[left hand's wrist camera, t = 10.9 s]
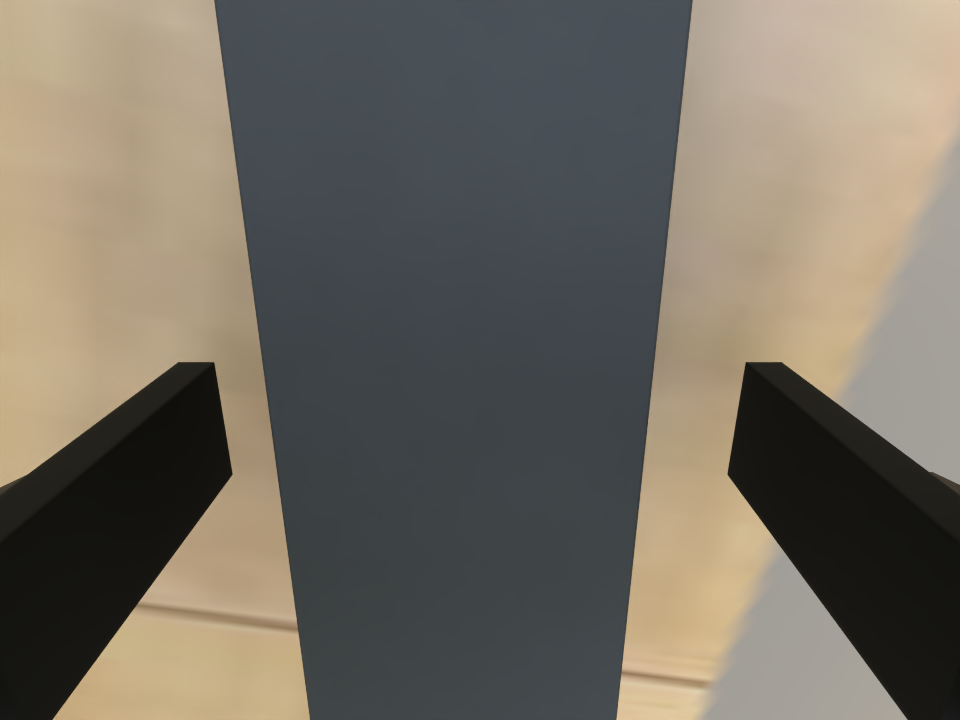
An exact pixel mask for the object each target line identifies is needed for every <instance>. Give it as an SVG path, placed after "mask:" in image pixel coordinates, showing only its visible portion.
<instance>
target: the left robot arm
mask: <svg viewBox="0 0 960 720" xmlns="http://www.w3.org/2000/svg"><path fill="white" fill-rule="evenodd" d="M232 475H233V474H232V468H231V462H230V456H229V450H228V444H227V438H226V431H225V425H224V419H223V413H222V407H221V401H220V395H219V388H218V382H217V376H216V370H215V364H214V362H178V363H177V364H176V365H174V366H173V367H172V368H170V369H169V370H167V371H166V372H165V373H163V374H162V375H161V376H159V377H158V378H157V379H155V380H154V381H153V382H151V383H150V384H149V385H147V386H146V387H145V388H143V389H142V390H141V391H139V392H138V393H137V394H135V395H134V396H133V397H131V398H130V399H129V400H127V401H126V402H125V403H123V404H122V405H120V406H119V407H118V408H116V409H115V410H114V411H112V412H111V413H110V414H108V415H107V416H106V417H104V418H103V419H102V420H100V421H99V422H98V423H96V424H95V425H94V426H92V427H91V428H90V429H88V430H87V431H86V432H84V433H83V434H82V435H80V436H79V437H78V438H76V439H75V440H73V441H72V442H71V443H69V444H68V445H67V446H65V447H64V448H63V449H61V450H60V451H59V452H57V453H56V454H55V455H53V456H52V457H51V458H49V459H48V460H47V461H45V462H44V463H43V464H41V465H40V466H39V467H37V468H36V469H35V470H33V471H32V472H30V473H29V474H28V475H26V476H24V477H22V478H19V479H17V480H15V481H13V482H11V483H9V484H7V485H5V486H3V487H1V488H0V720H52V719H53V718H54V717H55V715H56V714H57V713H58V711H59V710H60V709H61V707H62V706H63V704H64V703H65V702H66V700H67V699H68V698H69V696H70V695H71V694H72V692H73V691H74V690H75V688H76V687H77V685H78V684H79V683H80V681H81V680H82V679H83V677H84V676H85V675H86V673H87V672H88V670H89V669H90V668H91V666H92V665H93V664H94V662H95V661H96V660H97V658H98V657H99V656H100V654H101V653H102V651H103V650H104V649H105V647H106V646H107V645H108V643H109V642H110V641H111V639H112V638H113V636H114V635H115V634H116V632H117V631H118V630H119V628H120V627H121V626H122V624H123V623H124V621H125V620H126V619H127V617H128V616H129V615H130V613H131V612H132V611H133V609H134V608H135V607H136V605H137V604H138V602H139V601H140V600H141V598H142V597H143V596H144V594H145V593H146V592H147V590H148V589H149V587H150V586H151V585H152V583H153V582H154V581H155V579H156V578H157V577H158V575H159V574H160V573H161V571H162V570H163V568H164V567H165V566H166V564H167V563H168V562H169V560H170V559H171V558H172V556H173V555H174V553H175V552H176V551H177V549H178V548H179V547H180V545H181V544H182V543H183V541H184V540H185V539H186V537H187V536H188V534H189V533H190V532H191V530H192V529H193V528H194V526H195V525H196V524H197V522H198V521H199V519H200V518H201V517H202V515H203V514H204V513H205V511H206V510H207V509H208V507H209V506H210V504H211V503H212V502H213V500H214V499H215V498H216V496H217V495H218V494H219V492H220V491H221V490H222V488H223V487H224V485H225V484H226V483H227V481H228V480H229V479H230V477H231V476H232ZM727 475H728V476H729V477H730V479H731V480H732V481H733V483H734V484H735V485H736V487H737V488H738V490H739V491H740V492H741V494H742V495H743V496H744V498H745V499H746V500H747V502H748V503H749V504H750V506H751V507H752V509H753V510H754V511H755V513H756V514H757V515H758V517H759V518H760V519H761V521H762V522H763V524H764V525H765V526H766V528H767V529H768V530H769V532H770V533H771V534H772V536H773V537H774V538H775V540H776V541H777V543H778V544H779V545H780V547H781V548H782V549H783V551H784V552H785V553H786V555H787V556H788V557H789V559H790V560H791V562H792V563H793V564H794V566H795V567H796V568H797V570H798V571H799V572H800V574H801V575H802V577H803V578H804V579H805V581H806V582H807V583H808V585H809V586H810V587H811V589H812V590H813V591H814V593H815V594H816V596H817V597H818V598H819V600H820V601H821V602H822V604H823V605H824V606H825V608H826V609H827V611H828V612H829V613H830V615H831V616H832V617H833V619H834V620H835V621H836V623H837V624H838V626H839V627H840V628H841V630H842V631H843V632H844V634H845V635H846V636H847V638H848V639H849V641H850V642H851V643H852V645H853V646H854V647H855V649H856V650H857V651H858V653H859V654H860V655H861V657H862V658H863V659H864V661H865V662H866V664H867V665H868V666H869V668H870V669H871V670H872V672H873V673H874V675H875V676H876V677H877V679H878V680H879V681H880V683H881V684H882V685H883V687H884V688H885V689H886V691H887V692H888V694H889V695H890V696H891V698H892V699H893V700H894V702H895V703H896V704H897V706H898V707H899V709H900V710H901V711H902V713H903V714H904V715H905V717H906V718H907V719H908V720H960V485H959V484H956V483H954V482H952V481H950V480H948V479H946V478H944V477H942V476H939V475H937V474H935V473H933V472H928V471H927V470H925V469H924V468H923V467H921V466H920V465H919V464H917V463H916V462H915V461H913V460H912V459H911V458H909V457H908V456H907V455H905V454H904V453H903V452H901V451H900V450H899V449H897V448H896V447H895V446H893V445H892V444H891V443H889V442H888V441H887V440H885V439H884V438H882V437H881V436H880V435H878V434H877V433H876V432H874V431H873V430H872V429H870V428H869V427H868V426H866V425H865V424H864V423H862V422H861V421H860V420H858V419H857V418H856V417H854V416H853V415H851V414H850V413H849V412H848V411H846V410H845V409H844V408H842V407H841V406H840V405H838V404H837V403H835V402H834V401H833V400H831V399H830V398H829V397H827V396H826V395H825V394H823V393H822V392H821V391H819V390H818V389H817V388H815V387H814V386H813V385H811V384H810V383H809V382H807V381H806V380H805V379H803V378H802V377H801V376H799V375H798V374H797V373H795V372H794V371H793V370H791V369H790V368H788V367H787V366H786V365H784V364H783V363H782V362H746V364H745V370H744V376H743V382H742V389H741V395H740V401H739V407H738V413H737V419H736V425H735V431H734V438H733V444H732V450H731V456H730V462H729V468H728V474H727Z"/></svg>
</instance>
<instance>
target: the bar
mask: <svg viewBox="0 0 960 720" xmlns="http://www.w3.org/2000/svg"><path fill="white" fill-rule="evenodd" d="M214 1H215V9H216V16H217V24H218V31H219V39H220V46H221V54H222V61H223V69H224V76H225V84H226V91H227V99H228V106H229V114H230V121H231V129H232V136H233V144H234V151H235V159H236V166H237V174H238V181H239V189H240V196H241V204H242V211H243V219H244V226H245V234H246V241H247V249H248V256H249V264H250V271H251V279H252V286H253V294H254V301H255V309H256V316H257V324H258V331H259V339H260V346H261V354H262V361H263V369H264V376H265V384H266V391H267V399H268V406H269V414H270V421H271V429H272V436H273V444H274V451H275V459H276V466H277V474H278V481H279V489H280V497H281V504H282V512H283V519H284V527H285V534H286V542H287V549H288V557H289V564H290V572H291V579H292V587H293V594H294V602H295V609H296V617H297V624H298V632H299V639H300V647H301V654H302V662H303V669H304V677H305V684H306V692H307V699H308V707H309V714H310V720H616V718H617V708H618V699H619V689H620V680H621V670H622V661H623V651H624V642H625V633H626V623H627V614H628V604H629V595H630V585H631V576H632V567H633V557H634V548H635V538H636V529H637V519H638V510H639V501H640V491H641V482H642V472H643V463H644V453H645V444H646V435H647V425H648V416H649V406H650V397H651V387H652V378H653V369H654V359H655V350H656V340H657V331H658V321H659V312H660V302H661V293H662V284H663V274H664V265H665V255H666V246H667V236H668V227H669V218H670V208H671V199H672V189H673V180H674V170H675V161H676V152H677V142H678V133H679V123H680V114H681V104H682V95H683V86H684V76H685V67H686V57H687V48H688V38H689V29H690V19H691V10H692V1H693V0H214Z"/></svg>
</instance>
